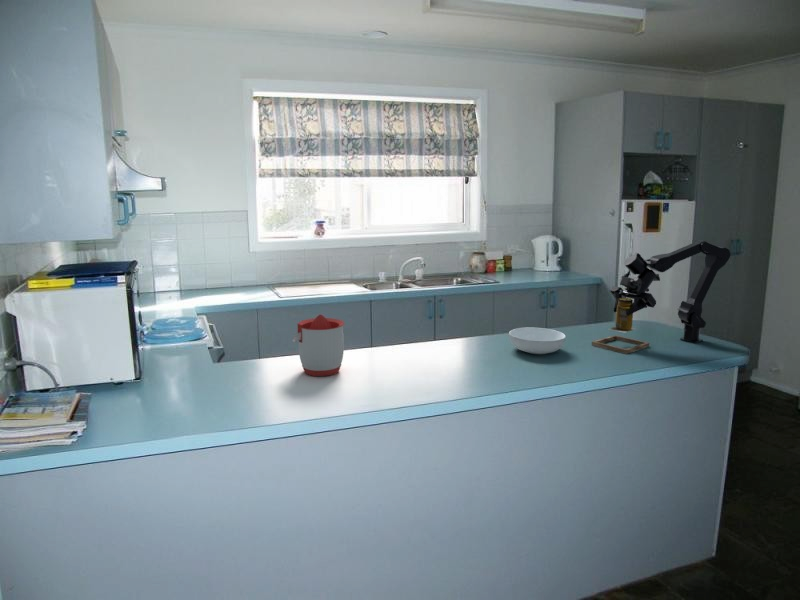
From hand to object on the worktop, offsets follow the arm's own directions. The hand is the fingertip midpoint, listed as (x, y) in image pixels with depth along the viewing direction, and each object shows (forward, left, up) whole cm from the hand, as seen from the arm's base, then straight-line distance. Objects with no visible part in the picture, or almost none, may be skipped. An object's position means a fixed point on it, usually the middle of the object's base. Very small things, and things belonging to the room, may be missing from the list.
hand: (620, 313), depth 235 cm
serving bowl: (+30, -16, -14) cm, 36 cm away
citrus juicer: (+108, -45, -13) cm, 117 cm away
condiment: (-1, 0, -7) cm, 7 cm away
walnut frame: (-1, 0, -13) cm, 13 cm away
